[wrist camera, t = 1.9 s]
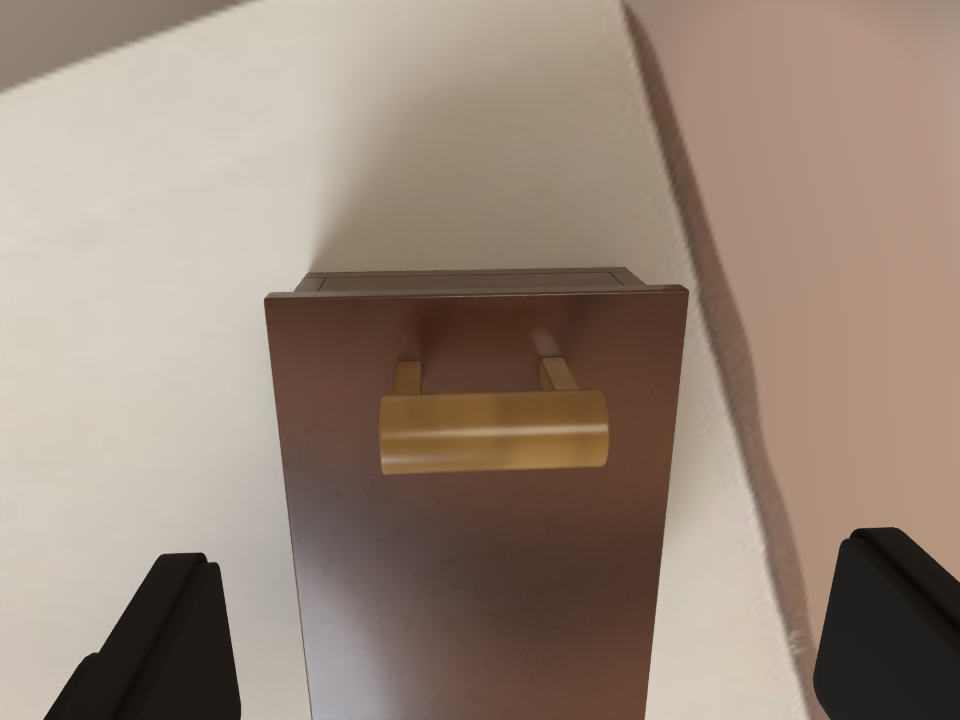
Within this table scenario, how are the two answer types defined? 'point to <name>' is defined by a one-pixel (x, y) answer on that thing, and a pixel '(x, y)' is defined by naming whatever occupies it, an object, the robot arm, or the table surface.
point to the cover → (477, 495)
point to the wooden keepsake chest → (467, 279)
